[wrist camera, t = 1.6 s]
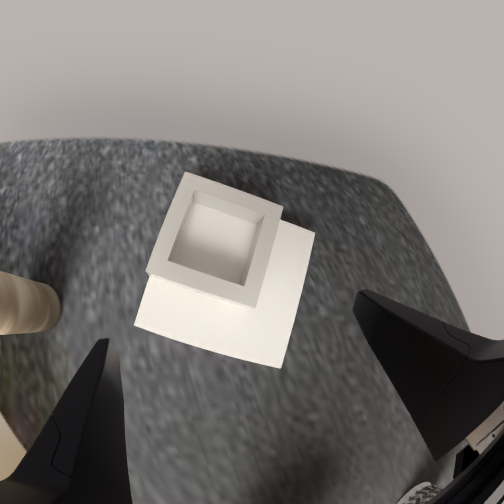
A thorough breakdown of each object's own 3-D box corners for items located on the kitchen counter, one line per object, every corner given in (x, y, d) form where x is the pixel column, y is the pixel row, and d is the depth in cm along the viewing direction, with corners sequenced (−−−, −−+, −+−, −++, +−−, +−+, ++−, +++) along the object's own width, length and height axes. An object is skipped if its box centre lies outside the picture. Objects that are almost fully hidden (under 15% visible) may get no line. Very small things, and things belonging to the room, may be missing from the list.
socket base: (275, 365, 23) (292, 374, 19) (137, 324, 21) (127, 326, 17) (308, 237, 26) (328, 224, 22) (184, 192, 24) (185, 171, 21)
